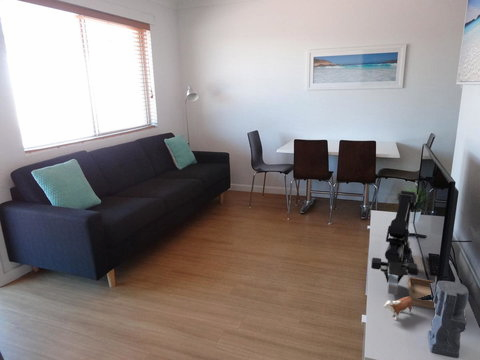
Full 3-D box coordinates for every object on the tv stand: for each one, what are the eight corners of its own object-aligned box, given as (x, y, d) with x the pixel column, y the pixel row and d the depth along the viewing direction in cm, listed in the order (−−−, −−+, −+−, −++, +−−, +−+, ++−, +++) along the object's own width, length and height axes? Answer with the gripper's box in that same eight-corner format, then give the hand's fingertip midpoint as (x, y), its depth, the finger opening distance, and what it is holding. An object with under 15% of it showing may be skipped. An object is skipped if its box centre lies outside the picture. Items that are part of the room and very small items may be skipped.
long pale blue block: (387, 277, 164) (388, 269, 163) (396, 278, 162) (397, 271, 161) (388, 293, 152) (388, 285, 151) (397, 294, 151) (398, 286, 150)
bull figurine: (380, 316, 142) (382, 299, 139) (406, 308, 146) (408, 291, 144) (388, 323, 138) (390, 305, 135) (415, 314, 142) (417, 297, 140)
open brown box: (407, 282, 164) (408, 276, 163) (434, 286, 160) (435, 281, 159) (410, 304, 148) (410, 298, 148) (440, 309, 144) (441, 303, 144)
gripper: (372, 257, 149) (369, 289, 154) (421, 264, 142) (417, 297, 147) (373, 245, 159) (370, 275, 164) (419, 251, 152) (415, 283, 157)
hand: (392, 282), depth 158 cm, fingers closed on long pale blue block, 4 cm apart
